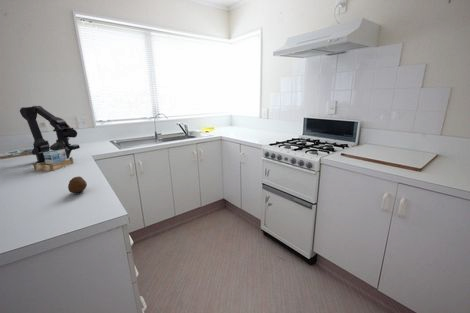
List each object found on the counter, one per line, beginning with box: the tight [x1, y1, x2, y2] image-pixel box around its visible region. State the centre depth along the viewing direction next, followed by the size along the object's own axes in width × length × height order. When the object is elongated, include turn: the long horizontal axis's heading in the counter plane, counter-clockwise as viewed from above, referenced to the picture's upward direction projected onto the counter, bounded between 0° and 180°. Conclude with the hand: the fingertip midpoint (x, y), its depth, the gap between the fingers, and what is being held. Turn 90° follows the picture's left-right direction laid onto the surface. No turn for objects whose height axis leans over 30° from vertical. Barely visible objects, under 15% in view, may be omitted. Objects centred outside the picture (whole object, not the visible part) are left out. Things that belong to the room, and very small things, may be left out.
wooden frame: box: [32, 156, 74, 172], centre depth 150 cm, size 13×16×5 cm
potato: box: [67, 176, 87, 194], centre depth 107 cm, size 7×10×8 cm
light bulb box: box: [43, 149, 68, 165], centre depth 152 cm, size 11×7×11 cm, turn 171°
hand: (67, 158), depth 160 cm, fingers closed
